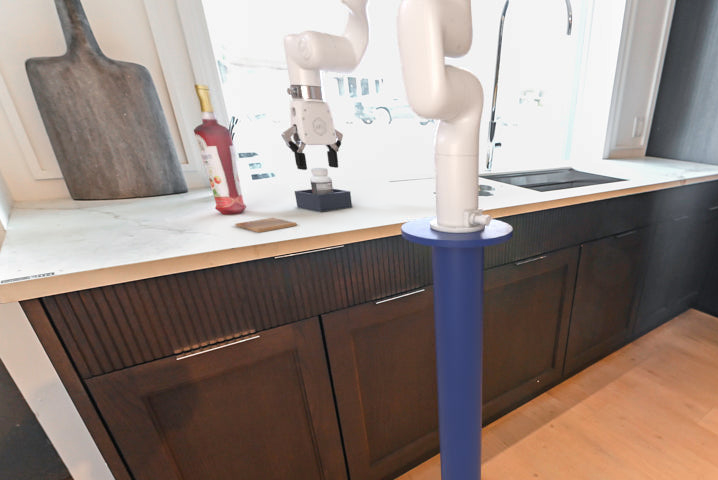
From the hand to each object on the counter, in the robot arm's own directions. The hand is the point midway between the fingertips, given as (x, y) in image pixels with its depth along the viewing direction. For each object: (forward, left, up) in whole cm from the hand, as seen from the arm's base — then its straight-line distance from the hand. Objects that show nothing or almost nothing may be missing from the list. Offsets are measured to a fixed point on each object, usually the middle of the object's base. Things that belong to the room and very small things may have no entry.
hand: (318, 168), depth 114 cm
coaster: (-10, +23, -10) cm, 27 cm away
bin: (0, 0, -10) cm, 10 cm away
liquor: (+10, +20, -10) cm, 25 cm away
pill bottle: (0, 0, -10) cm, 10 cm away
